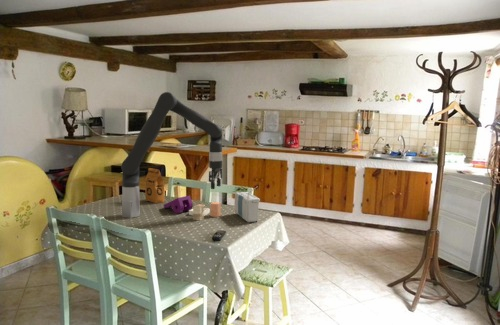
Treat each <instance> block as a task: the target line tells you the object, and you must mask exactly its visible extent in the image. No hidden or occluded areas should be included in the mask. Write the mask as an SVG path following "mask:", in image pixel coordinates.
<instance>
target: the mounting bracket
mask: <svg viewBox="0 0 500 325" xmlns="http://www.w3.org/2000/svg"><path fill="white" fill-rule="evenodd" d="M162 206H163V208H164V210H165V209H169V208H171V210H172V211H173V213H175V214H177V215H179V214H181V213H183V212H184V211H185V212H189V210H191V209H193V201H192V198H191V195H185V196H181V197H177V198H175V199H173V200H171V201H168V202H167V203H165V204H163V205H162Z"/></svg>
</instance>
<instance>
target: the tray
mask: <svg viewBox="0 0 500 325" xmlns="http://www.w3.org/2000/svg"><path fill="white" fill-rule="evenodd" d="M208 214H211V208H209V207H204V217H205V216H206V215H208ZM188 215H189V216H193V208H192V209H191V210H189V211H188Z"/></svg>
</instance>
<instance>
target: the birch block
mask: <svg viewBox="0 0 500 325" xmlns="http://www.w3.org/2000/svg"><path fill="white" fill-rule="evenodd" d="M204 205H205V204H202V205H199V204H195V205H194V206H193V207H192V209H193V215H192V220H193V221H202V220H203V219H205V216H204V208H205V206H204Z"/></svg>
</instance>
